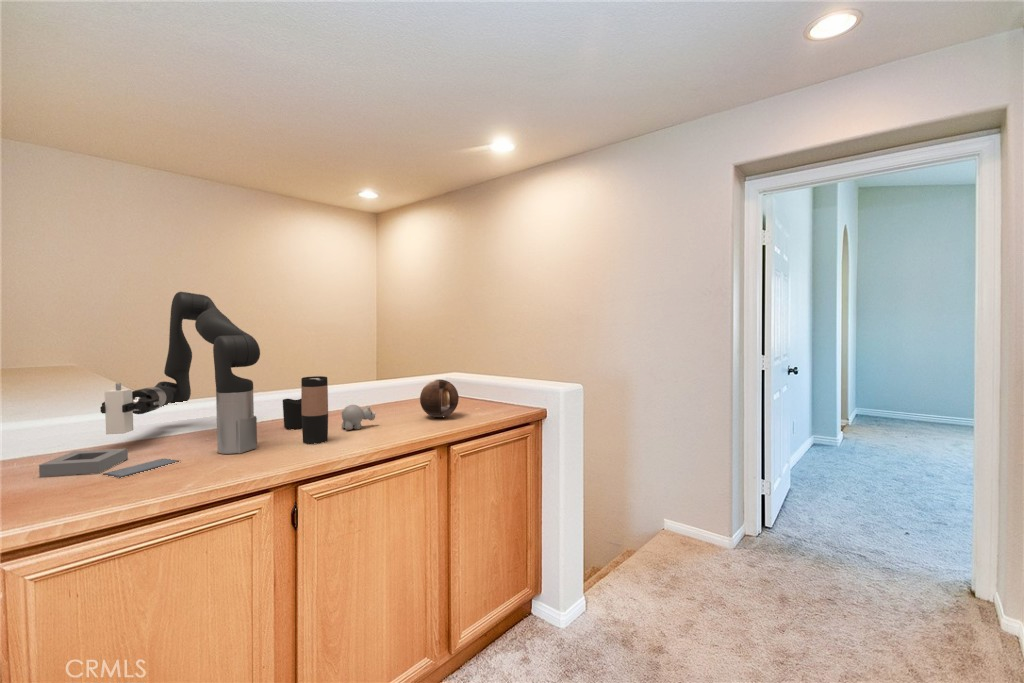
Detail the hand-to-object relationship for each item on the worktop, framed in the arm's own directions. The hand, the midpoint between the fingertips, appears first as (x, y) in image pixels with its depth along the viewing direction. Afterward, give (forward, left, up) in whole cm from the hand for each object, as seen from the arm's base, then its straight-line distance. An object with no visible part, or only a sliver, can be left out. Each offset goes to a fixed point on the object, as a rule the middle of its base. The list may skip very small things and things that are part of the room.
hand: (113, 409), depth 127 cm
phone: (-20, +7, -13) cm, 25 cm away
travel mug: (-43, -28, -13) cm, 54 cm away
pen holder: (-23, -43, -13) cm, 51 cm away
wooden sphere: (-64, -73, -13) cm, 99 cm away
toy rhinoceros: (-45, -48, -13) cm, 68 cm away
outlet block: (-6, +11, -13) cm, 18 cm away
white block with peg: (+1, -2, -7) cm, 8 cm away
